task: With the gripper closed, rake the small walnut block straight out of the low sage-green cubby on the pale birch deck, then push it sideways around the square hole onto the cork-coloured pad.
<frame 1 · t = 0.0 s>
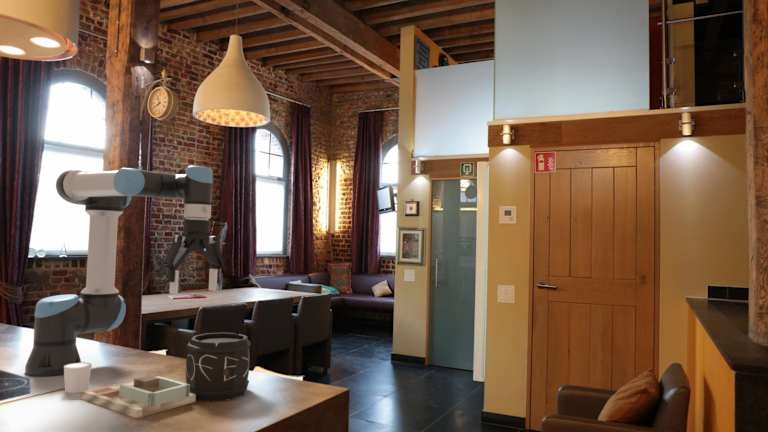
hand: (193, 292, 158), 28 cm above the counter, fingers open, 13 cm apart
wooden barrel: (217, 393, 154), on the counter
cubby: (154, 403, 143), resting on deck
block: (146, 393, 145), point 2 cm above the counter, touching deck
shot glass: (76, 390, 153), on the counter
deck: (138, 400, 145), on the counter
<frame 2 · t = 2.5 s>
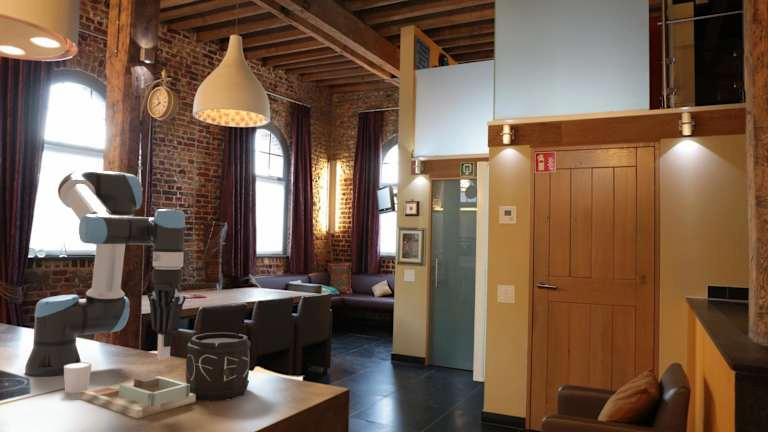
hand: (163, 358, 142), 12 cm above the counter, fingers closed
nothing on the counter moved.
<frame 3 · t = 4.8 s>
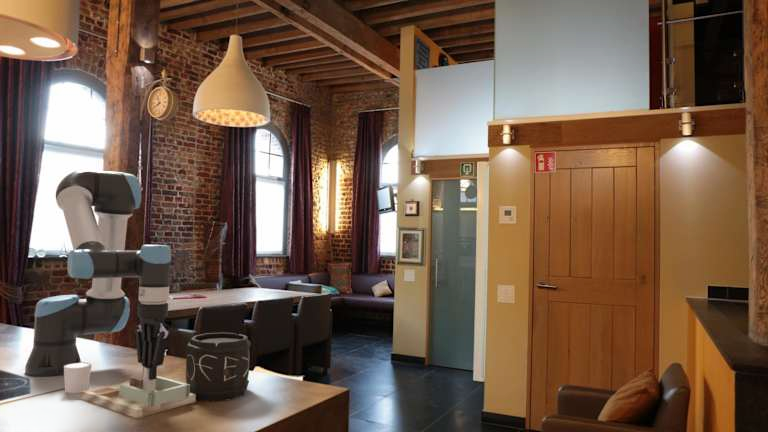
hand: (148, 391, 145), 3 cm above the counter, fingers closed
block: (141, 392, 146), point 2 cm above the counter
everything else where it was.
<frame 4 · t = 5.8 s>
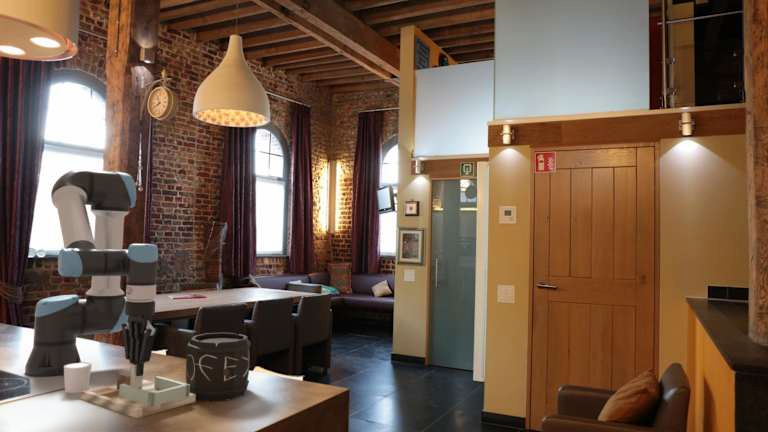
hand: (136, 387, 148), 3 cm above the counter, fingers closed
block: (129, 388, 149), point 2 cm above the counter, touching deck, gripper
everything else where it was.
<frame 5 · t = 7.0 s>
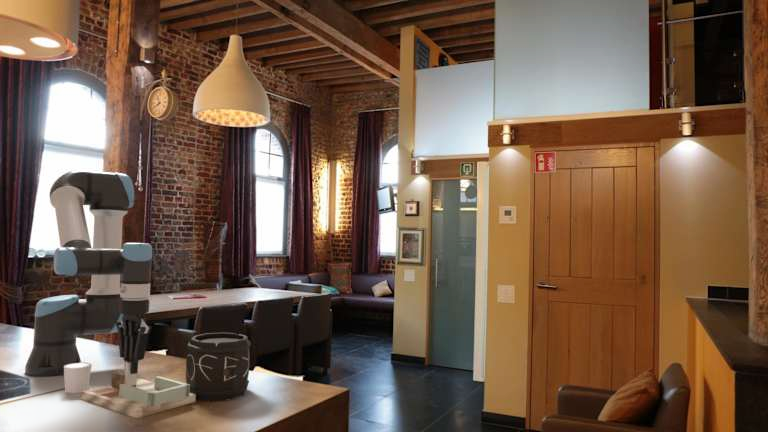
hand: (130, 384, 149), 3 cm above the counter, fingers closed
block: (123, 386, 151), point 2 cm above the counter, touching deck, gripper
everything else where it was.
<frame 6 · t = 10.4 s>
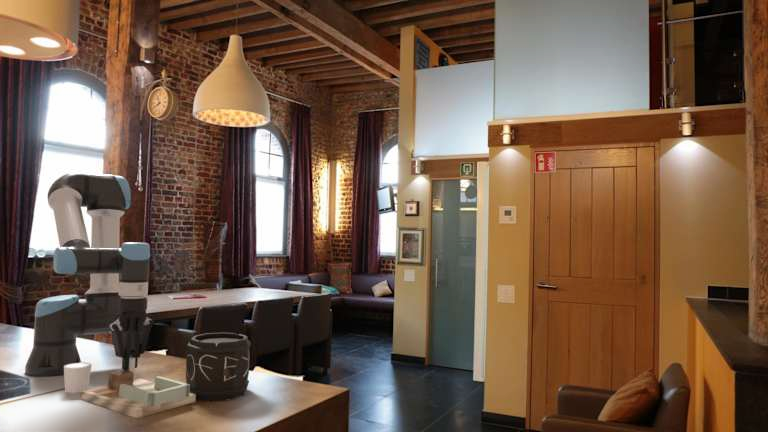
hand: (128, 380, 153), 3 cm above the counter, fingers closed
block: (120, 387, 150), point 2 cm above the counter
everything else where it was.
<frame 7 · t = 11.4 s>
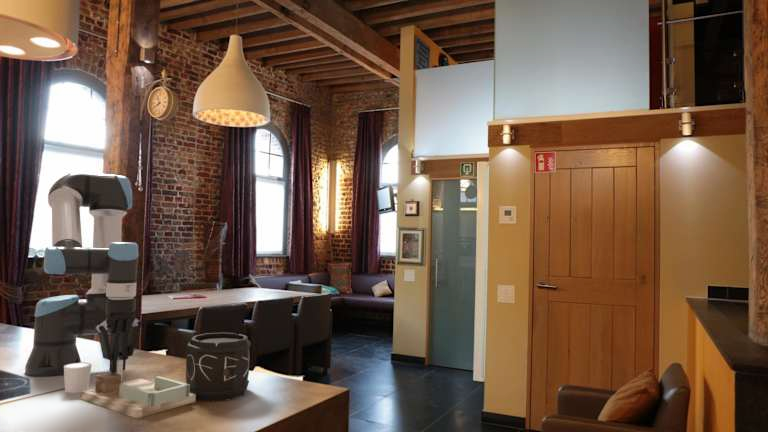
hand: (116, 383, 150), 3 cm above the counter, fingers closed
block: (107, 390, 147), point 2 cm above the counter, touching deck
everything else where it was.
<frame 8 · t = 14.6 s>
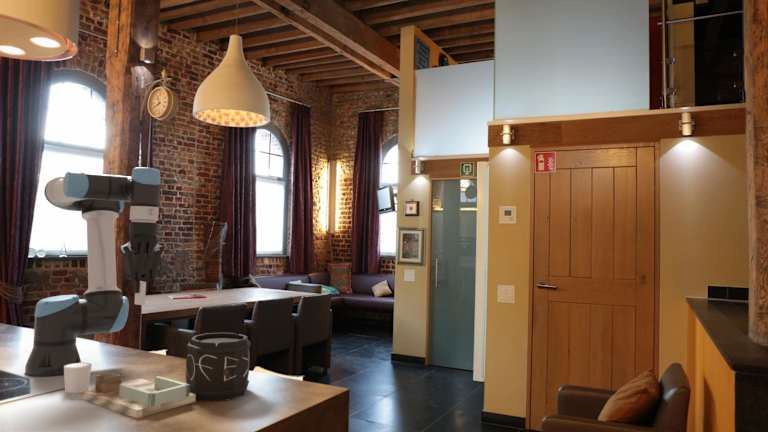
hand: (139, 304, 155), 24 cm above the counter, fingers closed
nothing on the counter moved.
at the end: block 1.6 cm from the target spot, point 2.0 cm above the counter; block tilted 0° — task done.
